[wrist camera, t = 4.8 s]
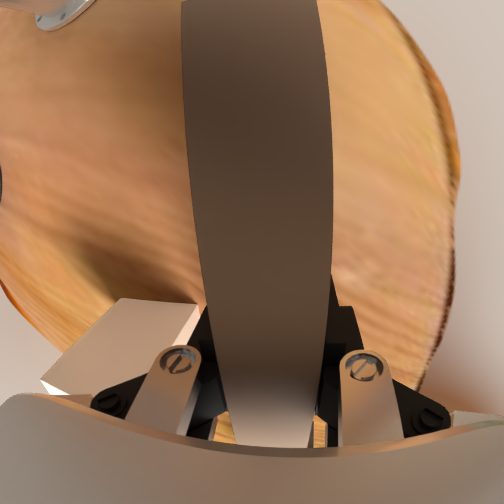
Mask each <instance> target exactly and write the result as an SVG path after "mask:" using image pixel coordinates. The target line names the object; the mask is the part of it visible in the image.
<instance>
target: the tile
mask: <svg viewBox="0 0 504 504" xmlns="http://www.w3.org/2000/svg"><path fill="white" fill-rule="evenodd" d="M199 319H200V313H199V308H198V304H185V303H172V302H160V301H149V300H138V299H129V298H120V299H119V300H118V301H117V302H116V303H115V304H114V305H113V306H112V307H111V308H110V309H109V310H108V311H107V312H106V313H105V314H103V315H102V316H101V317H100V318H99V319H98V320H97V321H96V322H95V323H94V324H93V325H92V326H91V327H90V328H89V329H88V330H87V331H86V332H85V333H84V334H83V335H82V336H81V337H80V338H79V339H78V340H77V341H76V342H75V343H74V344H73V345H72V346H71V347H70V348H69V349H68V350H67V351H66V352H65V353H64V354H63V355H62V356H61V358H59V359H58V361H57V362H56V363H55V364H54V365H53V366H52V367H51V368H50V369H49V370H48V371H47V372H46V373H45V374H44V375H43V377H42V378H41V379H40V380H41V382H42V383H43V385H44V386H45V388H46V389H47V390H48V392H49V394H50V395H81V394H92V395H93V397H95V395H97V394H98V393H99V392H100V391H102V390H104V389H107V388H110V387H112V386H115V385H118V384H120V383H123V382H125V381H128V380H131V379H133V378H136V377H138V376H141V375H143V374H146V373H148V372H149V370H150V368H151V367H152V365H153V363H154V361H155V359H156V357H157V356H158V355H159V353H160V352H162V351H163V350H164V349H166V348H169V347H171V346H175V345H186V344H187V342H188V340H189V338H190V336H191V334H192V332H193V331H194V329H195V327H196V325H197V323H198V321H199Z"/></svg>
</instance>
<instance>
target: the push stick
mask: <svg viewBox="0 0 504 504" xmlns="http://www.w3.org/2000/svg"><path fill="white" fill-rule="evenodd" d="M181 43H182V78H183V99H184V116H185V130H186V143H187V155H188V166H189V176H190V186H191V195H192V204H193V212H194V220H195V228H196V236H197V243H198V250H199V257H200V264H201V271H202V277H203V284H204V290H205V296H206V302H207V308H208V314H209V319H210V325H211V330H212V336H213V341H214V346H215V351H216V356H217V361H218V366H219V371H220V376H221V381H222V385H223V390H224V394H225V399H226V403H227V407H228V412H229V416H230V420H231V424H232V428H233V432H234V436H235V440H236V444H239V445H249V446H261V447H279V448H313V435H314V421H313V416H314V410H315V405H316V399H317V393H318V386H319V380H320V373H321V366H322V359H323V351H324V343H325V334H326V325H327V315H328V304H329V292H330V278H331V261H332V239H333V150H332V128H331V112H330V99H329V87H328V77H327V68H326V60H325V52H324V44H323V37H322V31H321V24H320V18H319V13H318V7H317V2H316V0H187V1H183V2H182V6H181Z"/></svg>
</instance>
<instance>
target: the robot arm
mask: <svg viewBox="0 0 504 504" xmlns="http://www.w3.org/2000/svg"><path fill="white" fill-rule="evenodd" d="M94 1H95V0H0V7H5V8H10V9H15V10H20V11H25V12H29V13H33V14H35V22H36V26H37V27H38V28H39V29H42V30H45V31H53V30H57V29H59V28H61V27H63V26H65V25H66V24H68V23H70V22H71V21H72V20H74V19H75V18H76V17H78V16H79V15H80V14H81V13H82V12H84V11H85V10H86V9H87V8H88V7H89V6H90V5H91V4H92V3H93V2H94ZM225 411H228V407H227V403H226V399H225V394H224V390H223V385H222V381H221V376H220V371H219V366H218V361H217V356H216V351H215V346H214V341H213V336H212V330H211V325H210V319H209V314H208V308H207V306H206V307H205V309H204V311H203V313H202V315H201V317H200V319H199V321H198V323H197V325H196V327H195V329H194V331H193V332H192V334H191V336H190V338H189V340H188V342H187V344H186V345H175V346H171V347H169V348H166V349H164V350H163V351H162V352H160V353H159V355H158V356H157V357H156V359H155V361H154V363H153V365H152V367H151V368H150V370H149V372H148V373H146V374H143V375H141V376H138V377H136V378H133V379H131V380H128V381H125V382H123V383H120V384H118V385H115V386H112V387H110V388H107V389H104V390H102V391H100V392H99V393H98V394H97V395H95V397H93V395H92V394H81V395H46V394H38V393H22V394H17V395H14V396H12V397H10V398H9V399H7V400H6V401H5V402H4V403H3V404H2V405H1V406H0V504H504V417H503V416H501V415H494V414H481V413H472V412H471V413H470V412H463V411H455V410H454V412H453V413H452V414H451V413H449V412H448V411H447V410H446V409H445V407H443V406H442V405H441V404H439V403H437V402H435V401H433V400H431V399H429V398H427V397H425V396H424V395H421V394H420V393H418V392H416V391H414V390H412V389H410V388H408V387H407V386H405V385H403V384H401V383H399V382H397V381H395V380H394V379H392V378H391V374H390V370H389V366H388V363H387V361H386V360H385V359H384V358H383V357H382V356H381V355H380V354H378V353H376V352H373V351H370V350H364V347H363V343H362V339H361V335H360V332H359V328H358V324H357V321H356V317H355V314H354V310H353V308H352V306H339V304H338V300H337V296H336V292H335V287H334V283H333V279H332V275H331V278H330V292H329V304H328V315H327V325H326V334H325V343H324V351H323V359H322V366H321V373H320V380H319V386H318V393H317V399H316V405H315V415H318V417H320V418H321V419H322V420H324V421H325V422H326V426H325V447H324V448H279V447H261V446H249V445H239V444H230V443H223V442H216V441H213V438H214V434H215V430H216V425H217V421H218V415H220V414H222V413H224V412H225Z"/></svg>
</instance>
